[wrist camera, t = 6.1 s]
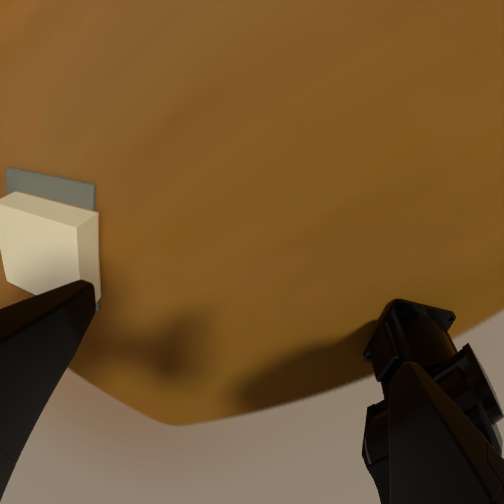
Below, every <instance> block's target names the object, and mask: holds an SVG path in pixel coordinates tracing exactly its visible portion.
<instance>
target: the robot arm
mask: <svg viewBox="0 0 504 504" xmlns="http://www.w3.org/2000/svg"><path fill="white" fill-rule="evenodd" d="M398 305H401V306H399V307H397V306H398ZM95 311H96V299H95V288H94V285H93V284H92V283H91V282H88V281H85V280H82V279H80V280H77V281H74V282H71V283H68V284H66V285H63V286H60V287H58V288H55V289H52V290H49V291H47V292H44V293H41V294H39V295H36V296H33V297H31V298H28V299H26V300H23V301H20V302H18V303H15V304H12V305H10V306H7V307H5V308H2V309H0V501H1V498H2V496H3V493H4V491H5V488H6V486H7V484H8V481H9V479H10V477H11V474H12V472H13V470H14V468H15V465H16V464H15V463H17V461H18V458H19V456H20V454H21V452H22V450H23V448H24V446H25V444H26V442H27V440H28V438H29V435H30V434H31V432H32V430H33V428H34V426H35V424H36V422H37V420H38V418H39V416H40V414H41V413H42V411H43V409H44V407H45V405H46V403H47V402H48V400H49V398H50V396H51V394H52V393H53V391H54V389H55V387H56V386H57V384H58V382H59V380H60V379H61V377H62V375H63V373H64V372H65V370H66V368H67V367H68V365H69V363H70V362H71V360H72V358H73V357H74V355H75V353H76V351H77V349H78V347H79V345H80V343H81V340H82V338H83V336H84V334H85V332H86V330H87V328H88V326H89V324H90V322H91V320H92V318H93V316H94V314H95ZM450 317H451V318H450ZM455 318H456V316H455V314H454V313H453V312H452V311H448V310H444V309H439V308H435V307H431V306H427V305H423V304H419V303H415V302H411V301H407V300H403V299H397V300H396V301H394V303H393V304H392V306H391V308H390V310H389V311H388V313H387V315H386V317H385V319H384V320H383V321H382V322H381V323H380V325H379V327H378V328H377V330H376V332H375V334H374V335H373V337H372V339H371V340H370V342H369V344H368V347H367V349H366V351H365V352H364V354H363V356H364V360H365V361H368V362H372V364H373V368H374V372H375V377H376V380H377V382H381V385H382V390H383V394H384V400H382V401H381V402H379V403H377V404H373V405H371V406H369V407H367V415H366V423H365V431H364V439H363V446H362V447H363V448H362V457H363V459H364V462H365V465H366V467H367V469H368V471H369V473H370V474H371V476H372V478H373V479H374V482H375V484H376V487H377V489H378V493H379V497H380V501H381V504H504V459H503V458H502V457H501V456H502V437H501V434H500V432H499V429H498V427H497V424H496V423H497V422H498V421H500V420H501V419H502V418H504V415H503V412H502V409H501V406H500V404H499V401H498V399H497V396H496V393H495V391H494V389H493V387H492V385H491V383H490V381H489V379H488V377H487V375H486V373H485V371H484V369H483V367H482V365H481V364H480V362H479V360H478V358H477V357H476V355H475V353H474V352H473V350H472V348H471V347H470V345H469V343H467V344H466V345H465V346H463V349H461V350H460V351H459V352H458V351H457V349H456V347H455V346H454V343H453V341H452V339H451V338H450V336H449V334H448V332H447V331H448V330H449V328H450V327H451V325H452V324H453V322H454V320H455ZM369 355H370V356H369Z"/></svg>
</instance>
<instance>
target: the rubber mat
mask: <svg viewBox="0 0 504 504" xmlns="http://www.w3.org/2000/svg"><path fill="white" fill-rule="evenodd" d="M6 181H7V195H9V194H11V193H13V192H15V191H19V192H23V193H27V194H31V195H34V196H38V197H42V198H46V199H50V200H54V201H58V202H61V203H65V204H69V205H73V206H77V207H81V208H85V209H88V210H92V211H95V194H96V185H95V184H91V183H86V182H81V181H76V180H72V179H67V178H62V177H57V176H52V175H47V174H42V173H37V172H32V171H27V170H22V169H16V168H11V167H7V168H6ZM96 311H99V300H98V301H97V303H96Z"/></svg>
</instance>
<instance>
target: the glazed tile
mask: <svg viewBox="0 0 504 504" xmlns="http://www.w3.org/2000/svg"><path fill="white" fill-rule="evenodd" d="M0 250H1V255H2V260H3V265H4V270H5V274H6V278H7V281H8V282H10V283H12V284H14V285H16V286H18V287H20V288H22V289H24V290H26V291H28V292H30V293H33V294H35V295H39V294H41V293H44V292H47V291H49V290H52V289H55V288H58V287H60V286H63V285H66V284H68V283H71V282H74V281H77V280H80V279H82V280H85V281H88V282H91V283H92V284H93V285H94V288H95V299H96V303H97V301H98V300H99V299H100V298H101V297H102V294H101V280H100V258H99V212H96V211H92V210H88V209H85V208H81V207H77V206H73V205H69V204H65V203H61V202H58V201H54V200H50V199H46V198H42V197H38V196H34V195H31V194H27V193H23V192H19V191H15V192H13V193H11V194H9V195H7V196H5V197H3V198H1V199H0Z"/></svg>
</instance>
